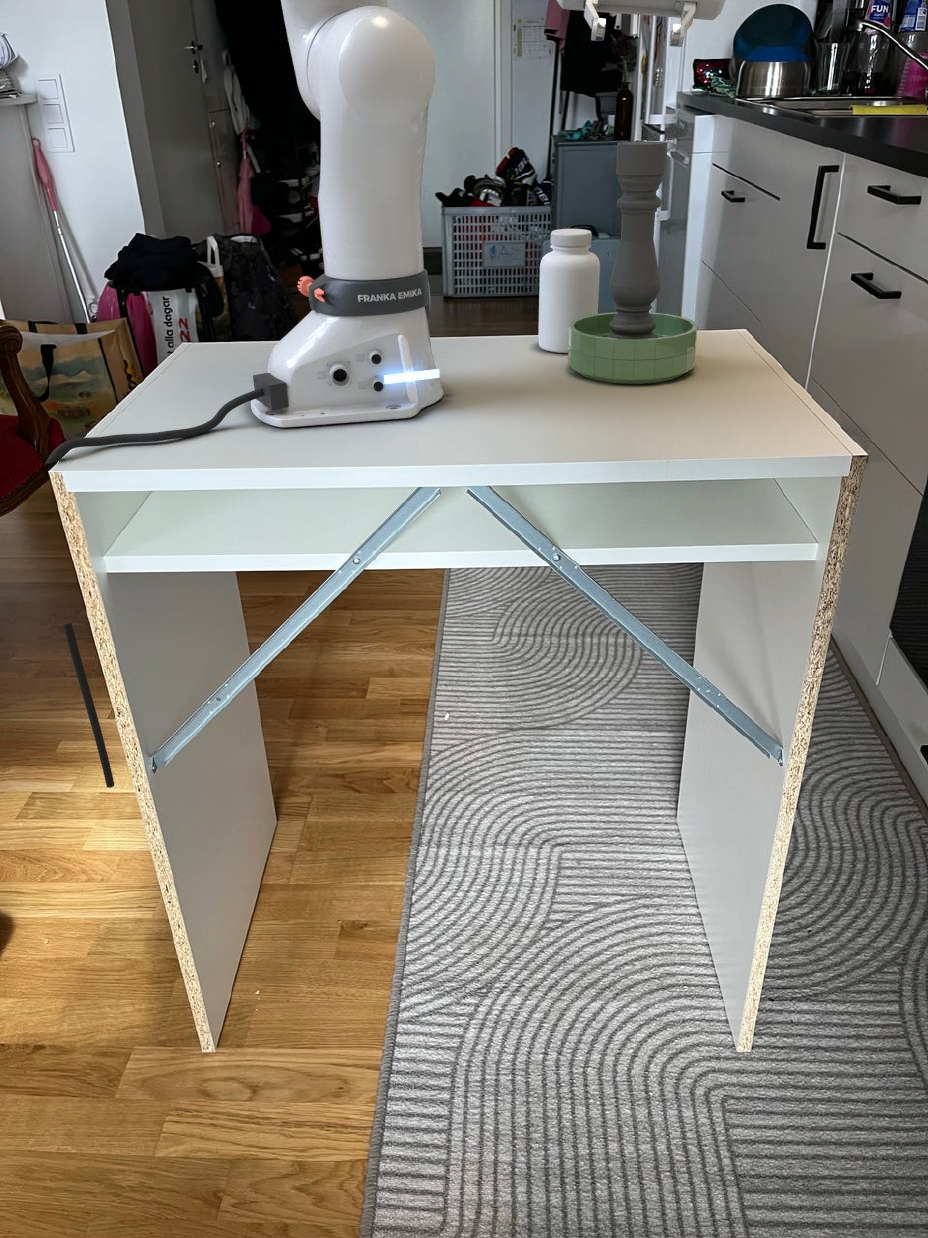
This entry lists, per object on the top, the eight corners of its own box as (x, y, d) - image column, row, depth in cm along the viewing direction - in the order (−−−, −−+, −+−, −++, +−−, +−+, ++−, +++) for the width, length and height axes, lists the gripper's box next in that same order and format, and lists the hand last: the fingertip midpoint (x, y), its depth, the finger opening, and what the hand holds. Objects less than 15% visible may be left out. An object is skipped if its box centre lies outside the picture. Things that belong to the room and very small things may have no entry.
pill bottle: (599, 353, 131) (604, 234, 123) (539, 355, 131) (541, 236, 124) (593, 339, 138) (598, 225, 130) (536, 341, 138) (537, 227, 131)
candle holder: (654, 369, 120) (669, 143, 108) (603, 368, 121) (612, 144, 109) (656, 357, 125) (670, 140, 113) (607, 356, 126) (616, 141, 114)
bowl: (604, 392, 115) (606, 345, 112) (548, 362, 127) (548, 319, 125) (718, 376, 119) (722, 330, 117) (653, 349, 132) (655, 307, 129)
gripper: (561, -92, 116) (552, 13, 114) (734, -79, 115) (728, 26, 113) (557, -48, 122) (548, 52, 120) (721, -36, 122) (715, 64, 120)
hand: (637, 39), depth 117 cm, fingers open, 8 cm apart
